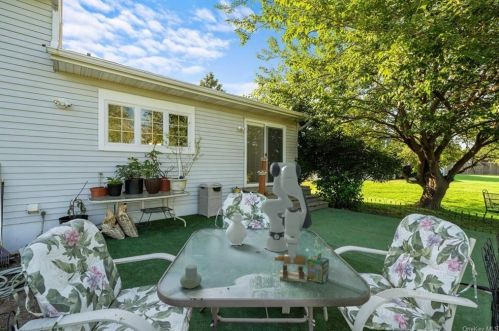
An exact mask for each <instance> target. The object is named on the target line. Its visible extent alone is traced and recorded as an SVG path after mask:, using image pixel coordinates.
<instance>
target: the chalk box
mask: <svg viewBox="0 0 499 331" xmlns="http://www.w3.org/2000/svg"><path fill="white" fill-rule="evenodd" d="M329 268H330V259H329V258H328V257H327V258H326V257H322V252H320V253H319V254H318V255H315V254H314V255H313V256H311V257H310V258H308V259H307V280H308V279H311V280H315V281H318V282H321V283H323V282H324V281H325V280H327V279H328V278H329V275H330V274H329V270H330V269H329ZM311 280H310V281H311ZM328 280H329V279H328ZM328 280H327V281H328ZM324 283H325V282H324ZM324 283H323V284H324Z"/></svg>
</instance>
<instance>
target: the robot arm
mask: <svg viewBox="0 0 499 331" xmlns="http://www.w3.org/2000/svg"><path fill="white" fill-rule="evenodd" d="M269 172H270V175H271V176H272V177H273V184H272V193H273V194H274V195H275V196H277V198H268V199H264V200H263V201H262V202H261V206H260V207H261V210H262V212H263V213H264V214H265V215H266V216H267V217H268V220H269V230H268V237H266V245H265V246H264V248H263V249H265V248H266V249H265V250H268V251H270V252H275V253H282V252H285V250H286V251H288V254H287V255H289V258H290V263H294V258H296V255H297V252H298V244H299V242H300V241H301V231H300V229H304V230H308V229H309V228H310V227H312V225H313V218H312V215H311V212H310V209H309V205H308V202H307V197H306V193H305V190H304V189H303V188H302V187H300V185H299V183H298V178H299V177H300V176H301V172H302V168H301V165H300V164H298V163H291V162H277V161H275V162H272V163H271V165H270V167H269ZM289 196H291V197H294V198H295V199H297V200H298V202H299V204H300V209H301V211H300V210H299V209H298V208H297V207H294V204H293V201H292V200H291V199H290V197H289ZM278 214H281V217H279V216H278Z"/></svg>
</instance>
